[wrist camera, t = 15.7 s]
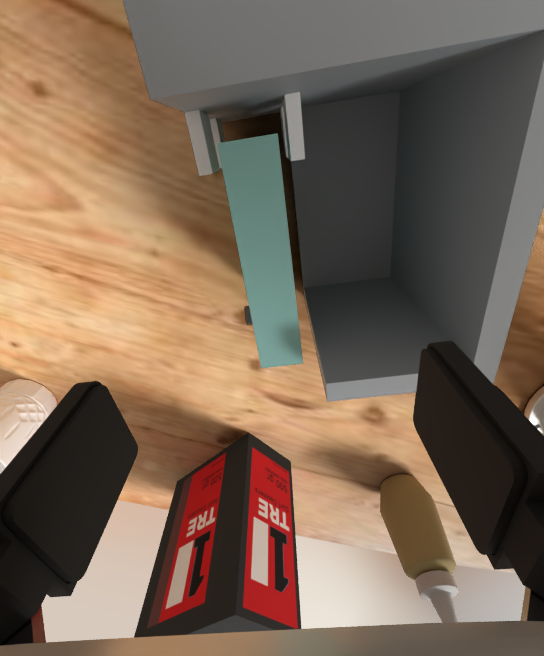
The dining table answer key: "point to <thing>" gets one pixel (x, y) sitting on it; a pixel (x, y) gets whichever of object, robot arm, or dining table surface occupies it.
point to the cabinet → (378, 158)
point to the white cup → (21, 415)
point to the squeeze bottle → (420, 541)
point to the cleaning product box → (227, 549)
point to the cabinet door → (263, 245)
